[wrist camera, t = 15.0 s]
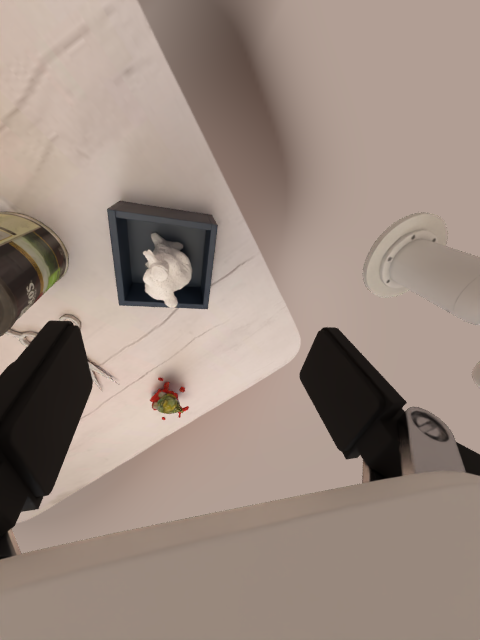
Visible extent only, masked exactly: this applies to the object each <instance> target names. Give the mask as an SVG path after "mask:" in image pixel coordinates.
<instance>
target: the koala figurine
mask: <svg viewBox="0 0 480 640" xmlns="http://www.w3.org/2000/svg"><path fill="white" fill-rule="evenodd" d="M151 238H152V241H153V242H154V244H155V249H154V251H153V252H152V251H151V250H149V249H148V251H144V252H143V255H145V257H146V258H147V260H148V262H147V263H146V264H145V265H146V266H147V267H148V268H149V269H147V270H146V272H145V274H144V276H143V281H144V282H145V292H146V293H148V294H149V296H151V297H152V298H154V299H156V300H163V301H164V303H165V304H166V305H167V306H168V307H171V308H174V307H176V306H177V304H178V302H177V298H176V297H175V295H174V291H176V290H178V289H179V290H180V289H182V288H183V287H184V286H185V285H187V284H188V283H189V281H190V279H191V274H192V267H191V263H190V260H189V258H188V257H187V256H186V255H185V254H184V253H183V252H181V251H180V250H181V249H182V248H183V245H182V244H181V243H179V242H170V241H166V240H165V239H163V238H162V237H161V236H160V235H158V234H157V233H152V234H151Z"/></svg>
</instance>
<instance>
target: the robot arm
mask: <svg viewBox="0 0 480 640" xmlns="http://www.w3.org/2000/svg"><path fill="white" fill-rule="evenodd" d="M379 275H380V279H381V281H382V282H383V283H384V284H385V285H386V286H388V287H391V288H402V287H405V288H407V289H409V290H411V291H412V292H414V293H416V294H418V295H419V296H421V297H423V298H425V299H426V300H428V301H430V302H432V303H433V304H435V305H437V306H439V307H441V308H442V309H444V310H446V311H448V312H449V313H451V314H453V315H455V316H456V317H458V318H460V319H462V320H464V321H466V322H468V323H471V324H474V325H479V326H480V257H478V256H474V255H471V254H468V253H465V252H462V251H459V250H456V249H453V248H450V247H447V246H444V245H441V244H438V239H437V237H436V235H435V234H434V233H432V232H430V231H427V230H415V231H412V232H410V233H407V234H405V235H404V236H402V237H401V238H400V239H398V240H397V241H396V242H395V243H394V244H393V245H392V246H391V247H390V248H389V250H388V251H387V252H386V254H385V256H384V257H383V260H382V262H381V265H380V269H379ZM472 378H473V380H474V382H475V384H476V385H477V386H478V387H479V388H480V361H479V362H478V363H477V365H476V366H475V367H474V369H473V371H472ZM300 380H301V382H302V384H303V385H304V387H305V389H306V391H307V393H308V395H309V397H310V398H311V400H312V402H313V404H314V405H315V408H316V410H317V411H318V413H319V415H320V417H321V419H322V420H323V422H324V424H325V426H326V428H327V430H328V432H329V433H330V435H331V437H332V439H333V441H334V442H335V444H336V446H337V448H338V449H339V450H340V451H342V452H343V454H344V456H345V458H346V459H351V458H357V457H359V455H361V457H362V458H363V476H362V484H357V485H351V486H346V487H341V488H336V489H331V490H325V491H321V492H315V493H310V494H305V495H300V496H295V497H290V498H285V499H280V500H275V501H270V502H265V503H260V504H255V505H250V506H245V507H240V508H235V509H230V510H225V511H220V512H215V513H210V514H205V515H200V516H195V517H191V518H185V519H181V520H176V521H171V522H166V523H161V524H156V525H151V526H147V527H141V528H136V529H132V530H127V531H122V532H117V533H113V534H108V535H103V536H99V537H94V538H89V539H85V540H81V541H76V542H72V543H68V544H62V545H58V546H53V547H50V548H45V549H41V550H36V551H31V552H27V553H23V554H21V551H20V549H19V546H18V544H17V541H16V539H15V536H14V534H13V531H12V529H11V528H13V527H14V526H15V524H16V521H17V519H18V517H19V515H20V513H21V512H23V511H29V510H35V509H39V506H40V504H41V501H42V499H43V496H47V495H49V494H50V493H51V491H52V489H53V487H54V485H55V482H56V480H57V477H58V474H59V472H60V469H61V467H62V464H63V462H64V459H65V456H66V454H67V451H68V449H69V446H70V444H71V441H72V439H73V436H74V433H75V431H76V428H77V426H78V423H79V421H80V418H81V415H82V413H83V410H84V408H85V405H86V403H87V400H88V397H89V395H90V392H91V390H92V384H93V381H92V376H91V372H90V368H89V364H88V360H87V356H86V352H85V348H84V344H83V340H82V336H81V332H80V328H79V326H74V325H73V323H72V322H71V321H49V322H47V323H46V325H45V326H44V327H43V328H42V330H41V331H40V332H39V333H38V334H37V336H36V337H35V338H34V339H33V340H32V342H31V343H30V344H29V345H28V347H27V348H26V349H25V350H24V351H23V353H22V354H21V355H20V356H19V357H18V359H17V360H16V361H15V362H13V363H11V364H10V365H9V366H8V367H7V368H6V369H5V371H4V372H3V373H2V374H1V375H0V640H480V454H478V453H476V452H474V451H472V450H470V449H468V448H466V447H465V446H463V445H461V444H459V443H457V442H456V441H455V438H454V436H453V434H452V432H451V430H450V429H449V428H448V426H447V425H446V424H445V423H444V422H443V421H441V420H440V419H439V418H438V417H437V416H435V415H434V414H432V413H430V412H429V411H426V410H424V409H422V408H419V407H410V408H408V409H407V410H406V411H404V410H403V409H402V407H403V406H404V405H405V404H406V401H405V400H404V399H403V398H402V397H401V396H400V395H399V394H398V393H397V392H396V390H395V389H394V388H393V387H392V386H391V385H390V384H389V383H388V382H387V381H386V380H385V379H384V378H383V376H381V374H380V373H379V372H378V371H377V370H376V369H375V368H374V367H373V366H372V365H371V364H370V363H369V361H368V360H367V359H366V358H365V357H364V356H363V355H362V354H361V353H360V352H359V351H358V350H357V349H356V348H355V346H354V345H353V344H352V343H351V342H350V341H349V340H348V339H347V338H346V337H345V336H344V335H343V333H342V332H341V331H340V330H339V329H337V328H327V327H326V328H323V329H321V331H319V332H318V334H317V336H316V338H315V340H314V342H313V345H312V347H311V349H310V351H309V353H308V356H307V358H306V360H305V362H304V365H303V367H302V369H301V372H300Z"/></svg>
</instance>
